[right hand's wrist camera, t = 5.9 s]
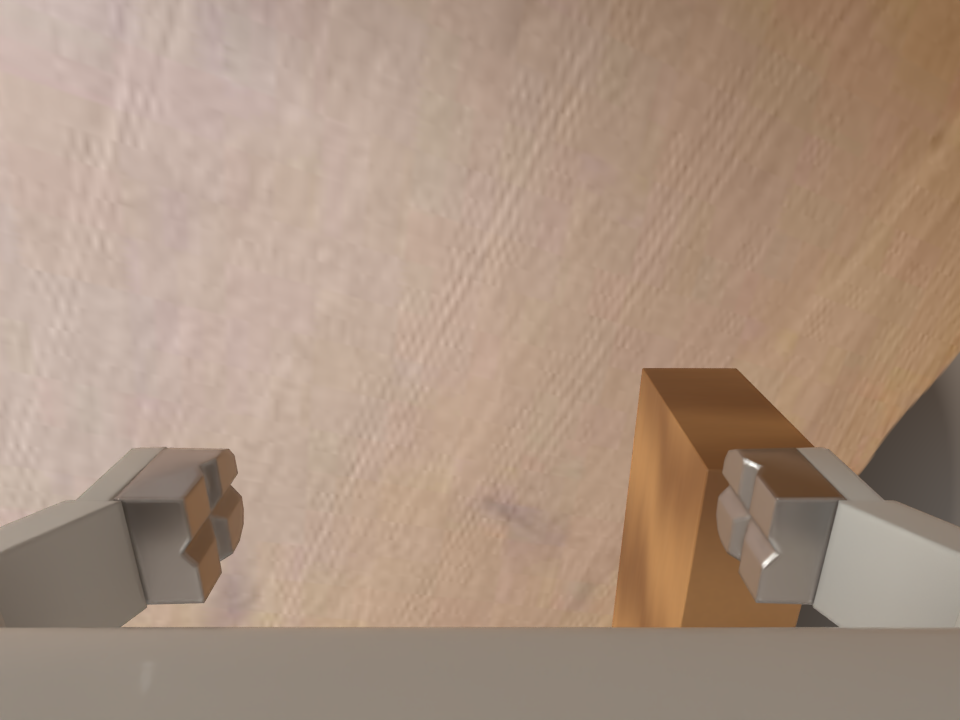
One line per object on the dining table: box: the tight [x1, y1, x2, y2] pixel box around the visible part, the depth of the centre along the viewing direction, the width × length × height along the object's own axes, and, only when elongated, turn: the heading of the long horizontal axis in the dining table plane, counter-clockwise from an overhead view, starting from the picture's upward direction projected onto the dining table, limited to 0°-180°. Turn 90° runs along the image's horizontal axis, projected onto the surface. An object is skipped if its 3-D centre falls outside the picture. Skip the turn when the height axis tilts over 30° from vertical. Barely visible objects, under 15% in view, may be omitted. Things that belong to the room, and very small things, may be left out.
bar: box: [612, 368, 814, 627], centre depth 29 cm, size 22×4×9 cm, turn 0°
